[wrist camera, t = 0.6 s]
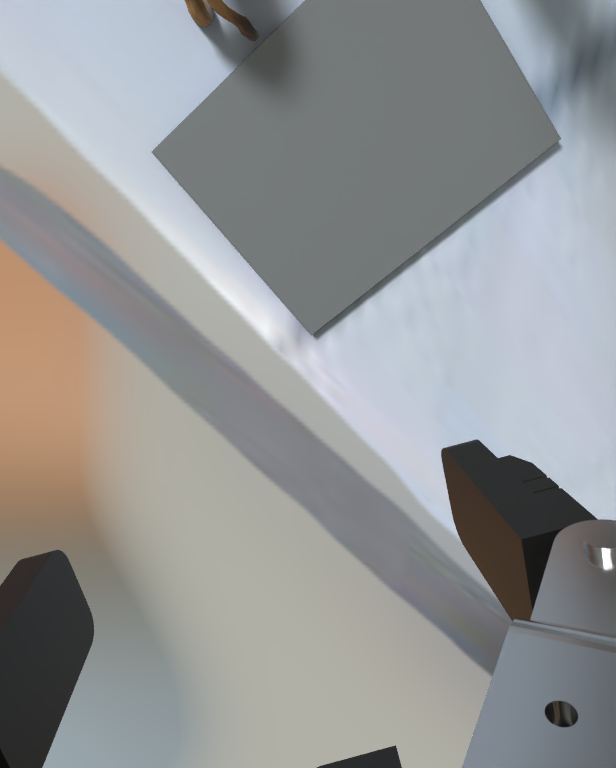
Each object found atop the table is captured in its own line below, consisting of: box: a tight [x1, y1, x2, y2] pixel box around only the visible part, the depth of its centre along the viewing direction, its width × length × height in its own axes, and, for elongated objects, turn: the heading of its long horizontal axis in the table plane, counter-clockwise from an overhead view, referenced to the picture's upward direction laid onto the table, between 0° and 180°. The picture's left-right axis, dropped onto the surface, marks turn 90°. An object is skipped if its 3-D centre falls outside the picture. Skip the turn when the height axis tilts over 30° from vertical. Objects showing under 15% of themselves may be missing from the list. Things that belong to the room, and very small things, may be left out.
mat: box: [152, 0, 561, 335], centre depth 31 cm, size 14×18×1 cm
